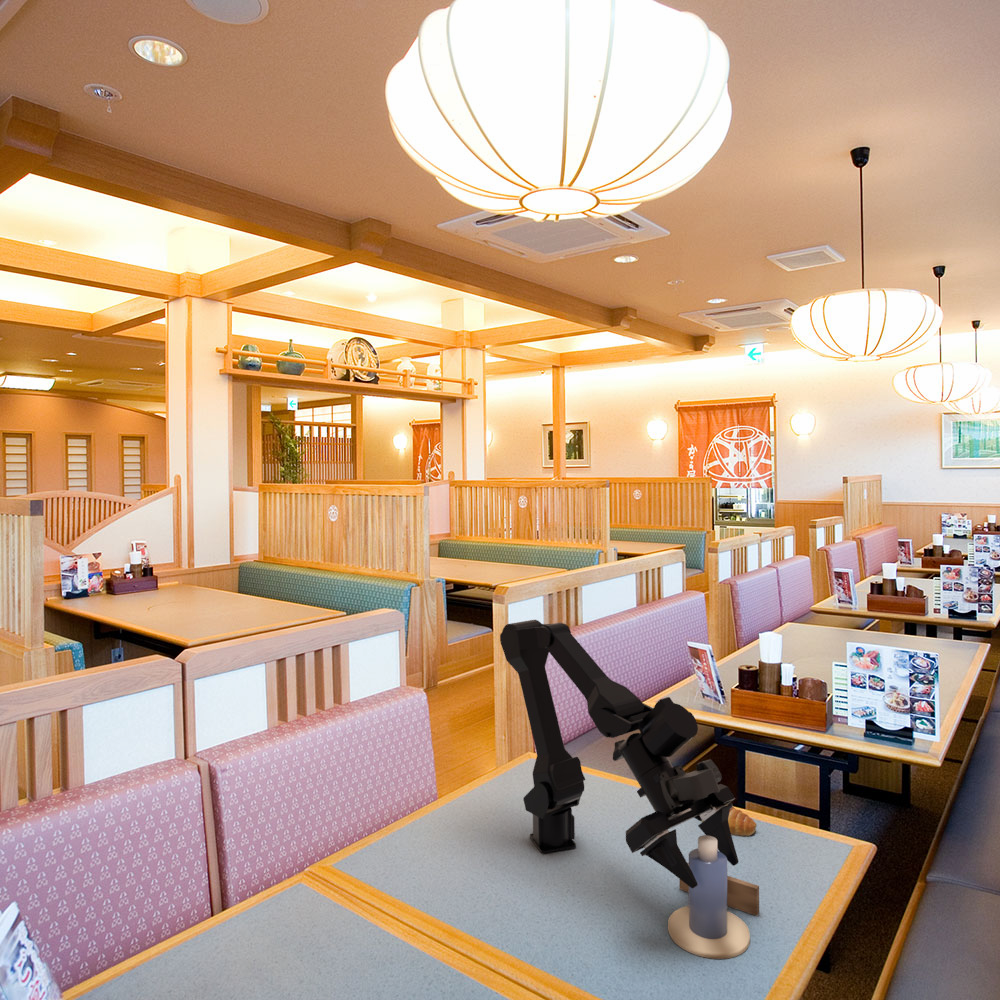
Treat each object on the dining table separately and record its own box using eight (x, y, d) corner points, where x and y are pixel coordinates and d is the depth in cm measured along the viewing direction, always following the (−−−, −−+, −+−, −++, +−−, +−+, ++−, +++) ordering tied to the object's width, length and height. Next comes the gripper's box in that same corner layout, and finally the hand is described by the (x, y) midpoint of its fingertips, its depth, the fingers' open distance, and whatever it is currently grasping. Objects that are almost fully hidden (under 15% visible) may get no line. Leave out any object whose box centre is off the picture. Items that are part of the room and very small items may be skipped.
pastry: (761, 828, 134) (761, 807, 133) (748, 843, 128) (748, 822, 128) (712, 814, 139) (711, 794, 139) (697, 828, 134) (697, 807, 134)
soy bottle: (689, 936, 101) (689, 847, 100) (688, 914, 106) (687, 829, 105) (729, 941, 100) (728, 850, 99) (725, 918, 105) (725, 832, 104)
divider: (679, 888, 114) (679, 863, 114) (682, 886, 115) (681, 860, 115) (757, 916, 107) (756, 889, 106) (759, 912, 107) (759, 885, 107)
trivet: (695, 966, 96) (695, 960, 96) (653, 918, 106) (653, 913, 106) (766, 949, 99) (766, 943, 99) (719, 904, 110) (719, 899, 110)
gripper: (640, 761, 99) (708, 875, 91) (723, 730, 111) (791, 829, 102) (599, 798, 106) (659, 908, 97) (682, 766, 117) (742, 862, 109)
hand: (716, 875), depth 101 cm, fingers open, 9 cm apart
